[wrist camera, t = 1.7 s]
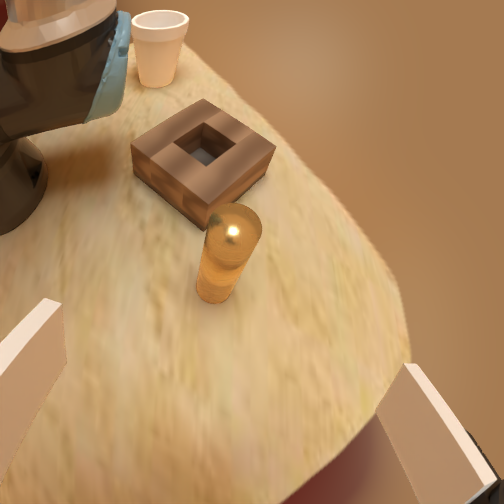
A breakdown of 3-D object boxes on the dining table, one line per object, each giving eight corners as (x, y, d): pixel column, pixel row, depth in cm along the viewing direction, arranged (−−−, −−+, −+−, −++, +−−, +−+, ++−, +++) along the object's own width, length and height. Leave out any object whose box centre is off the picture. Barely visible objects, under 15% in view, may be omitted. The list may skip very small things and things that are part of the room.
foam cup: (191, 80, 50) (200, 20, 39) (150, 99, 46) (153, 34, 35) (161, 62, 52) (165, 6, 40) (122, 78, 47) (121, 19, 36)
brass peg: (188, 287, 35) (196, 226, 22) (211, 263, 36) (231, 194, 24) (216, 310, 34) (239, 261, 22) (238, 285, 36) (272, 225, 24)
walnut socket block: (133, 173, 39) (130, 143, 34) (198, 128, 45) (203, 98, 40) (203, 231, 38) (208, 204, 33) (264, 174, 44) (276, 146, 39)
